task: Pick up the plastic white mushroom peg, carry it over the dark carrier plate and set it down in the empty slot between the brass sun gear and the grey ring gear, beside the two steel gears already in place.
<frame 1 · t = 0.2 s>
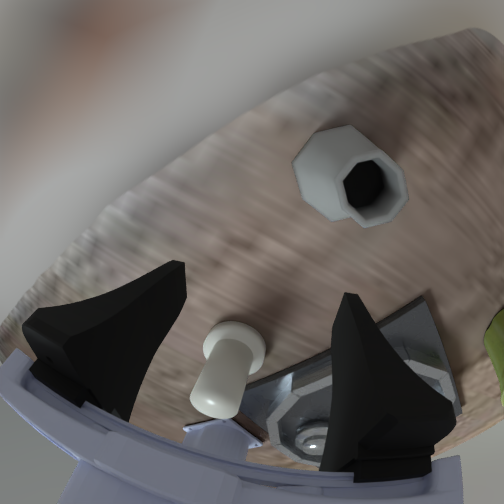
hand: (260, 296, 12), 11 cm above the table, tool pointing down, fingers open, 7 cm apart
flask: (340, 172, 20), on the table
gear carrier: (362, 411, 27), on the table
plant pot: (500, 326, 21), on the table
white mushroom peg: (236, 345, 27), on the table
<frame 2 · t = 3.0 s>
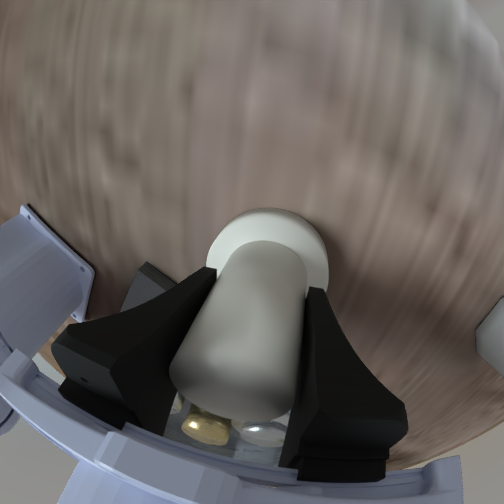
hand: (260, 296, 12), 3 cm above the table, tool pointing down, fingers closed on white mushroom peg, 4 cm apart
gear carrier: (214, 407, 24), on the table
white mushroom peg: (270, 262, 15), on the table, touching gripper
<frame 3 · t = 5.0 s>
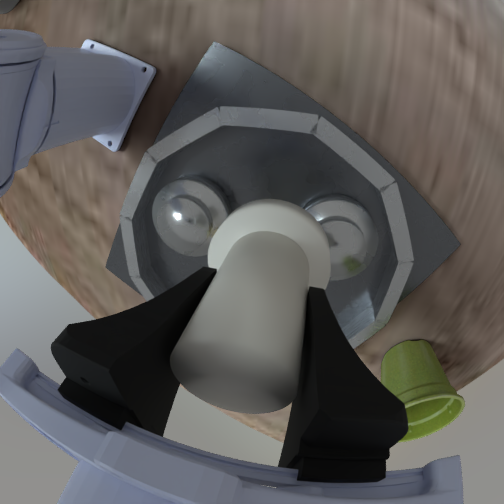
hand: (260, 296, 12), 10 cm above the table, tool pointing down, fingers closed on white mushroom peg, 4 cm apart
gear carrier: (261, 252, 22), on the table
plant pot: (407, 355, 25), on the table
white mushroom peg: (272, 253, 14), point 7 cm above the table, touching gripper
when the fingers open (5 cm above the table, at t = 7.3 s): white mushroom peg drops 1 cm, resting on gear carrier.
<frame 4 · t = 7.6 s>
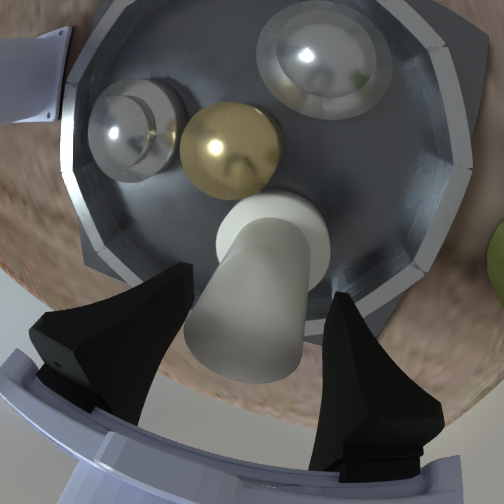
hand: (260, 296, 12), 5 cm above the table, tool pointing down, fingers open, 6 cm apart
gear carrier: (245, 142, 14), on the table
white mushroom peg: (275, 240, 15), point 1 cm above the table, touching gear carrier
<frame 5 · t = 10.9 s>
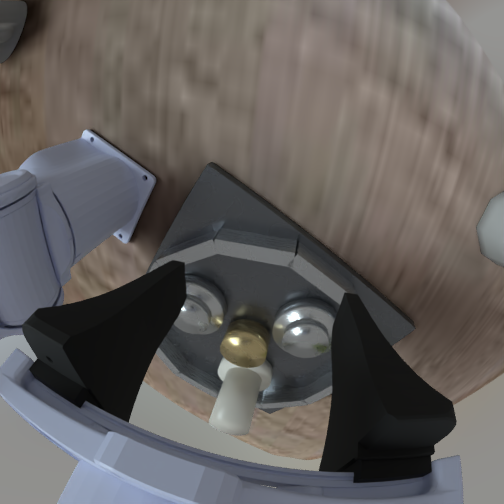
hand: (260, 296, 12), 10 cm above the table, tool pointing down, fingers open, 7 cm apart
flask: (502, 225, 17), on the table
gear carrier: (250, 328, 28), on the table
white mushroom peg: (246, 367, 29), point 1 cm above the table, touching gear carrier
coffee mug: (13, 34, 15), on the table
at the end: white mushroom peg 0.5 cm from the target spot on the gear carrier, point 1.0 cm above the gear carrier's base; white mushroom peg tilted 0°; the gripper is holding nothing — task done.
